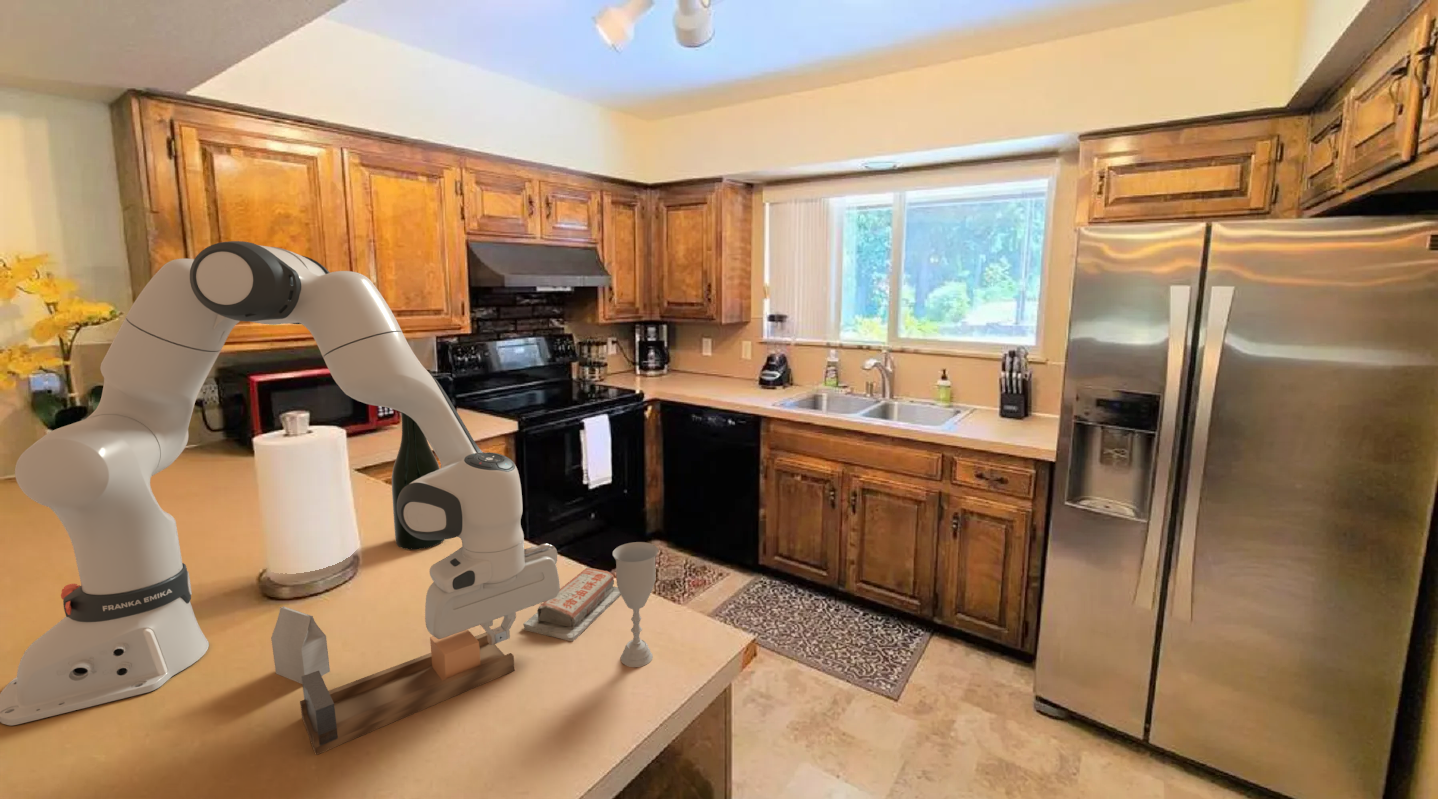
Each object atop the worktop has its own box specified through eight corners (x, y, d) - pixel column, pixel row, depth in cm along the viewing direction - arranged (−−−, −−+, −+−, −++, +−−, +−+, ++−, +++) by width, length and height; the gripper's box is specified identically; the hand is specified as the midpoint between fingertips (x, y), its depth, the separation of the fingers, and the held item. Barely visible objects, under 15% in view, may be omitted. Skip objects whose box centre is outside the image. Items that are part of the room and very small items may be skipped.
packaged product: (578, 562, 122) (624, 570, 119) (579, 585, 123) (624, 594, 120) (521, 606, 105) (572, 617, 102) (522, 632, 106) (573, 644, 103)
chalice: (638, 676, 94) (637, 566, 91) (604, 661, 98) (602, 554, 94) (667, 653, 100) (667, 548, 97) (634, 639, 104) (633, 538, 100)
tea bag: (305, 685, 91) (298, 623, 89) (275, 673, 93) (267, 612, 92) (329, 671, 94) (323, 610, 92) (300, 660, 97) (293, 601, 95)
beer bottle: (422, 554, 134) (410, 404, 128) (384, 547, 137) (371, 400, 131) (457, 536, 144) (447, 396, 138) (421, 529, 147) (410, 392, 141)
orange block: (446, 686, 90) (444, 654, 89) (432, 667, 94) (429, 637, 93) (481, 672, 93) (479, 641, 92) (465, 654, 97) (463, 625, 96)
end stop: (319, 746, 78) (315, 710, 77) (305, 709, 84) (301, 676, 83) (337, 738, 79) (334, 703, 78) (322, 703, 86) (318, 670, 85)
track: (315, 755, 78) (313, 737, 77) (301, 717, 84) (299, 701, 84) (514, 670, 95) (513, 655, 95) (490, 644, 101) (489, 630, 101)
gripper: (547, 534, 104) (549, 610, 107) (417, 570, 90) (424, 656, 93) (565, 546, 100) (568, 625, 102) (433, 586, 86) (439, 676, 89)
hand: (498, 640), depth 98 cm, fingers closed
